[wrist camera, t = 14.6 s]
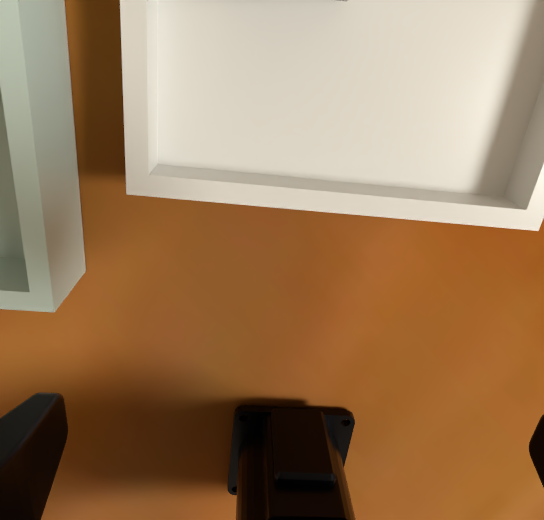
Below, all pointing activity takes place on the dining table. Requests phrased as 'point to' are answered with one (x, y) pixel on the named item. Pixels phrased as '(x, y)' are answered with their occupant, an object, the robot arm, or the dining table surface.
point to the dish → (37, 159)
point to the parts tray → (339, 106)
